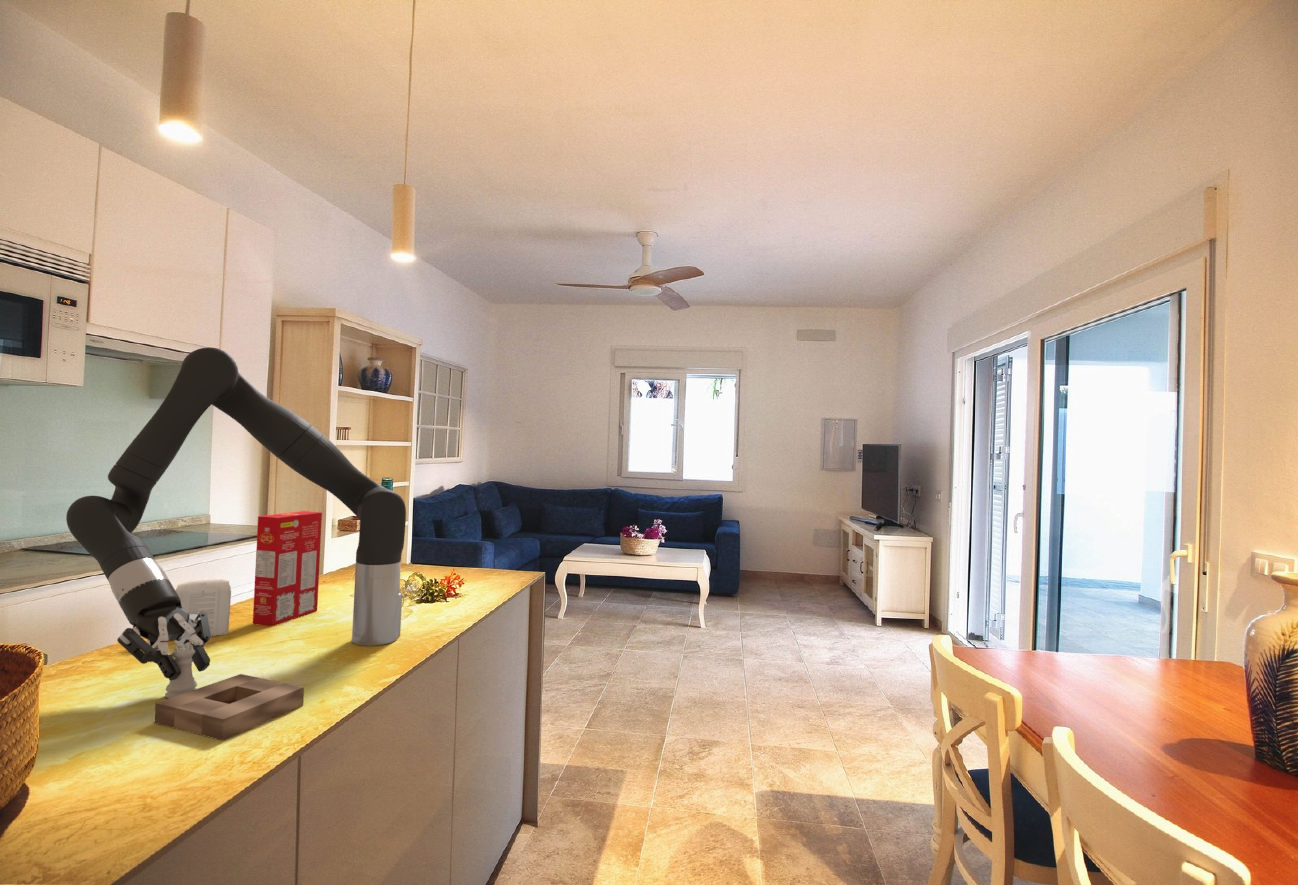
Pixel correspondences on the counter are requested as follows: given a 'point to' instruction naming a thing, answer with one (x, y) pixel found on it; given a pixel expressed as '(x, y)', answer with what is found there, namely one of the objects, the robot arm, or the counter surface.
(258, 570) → the food packaging
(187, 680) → the rook chess piece
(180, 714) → the socket board
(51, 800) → the counter surface
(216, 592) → the photo printer
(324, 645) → the counter surface
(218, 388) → the robot arm
